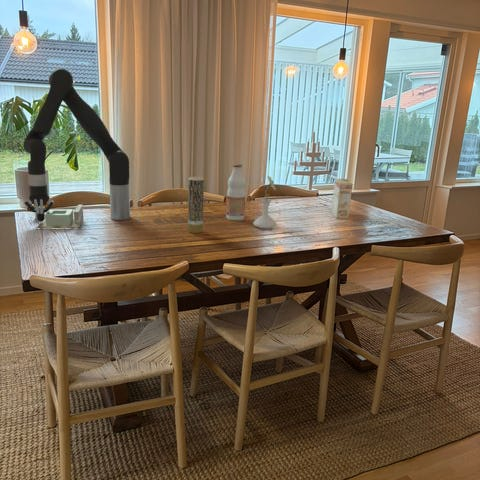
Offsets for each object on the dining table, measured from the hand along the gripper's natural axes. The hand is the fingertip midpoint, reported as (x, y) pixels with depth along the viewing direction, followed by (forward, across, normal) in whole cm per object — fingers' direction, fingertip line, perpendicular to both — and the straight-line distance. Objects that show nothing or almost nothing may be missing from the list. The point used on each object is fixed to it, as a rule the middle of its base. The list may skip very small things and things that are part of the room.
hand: (41, 221), depth 210 cm
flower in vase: (+2, -105, +6) cm, 105 cm away
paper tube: (+2, -70, +13) cm, 71 cm away
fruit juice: (+2, -92, -10) cm, 93 cm away
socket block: (+1, -8, 0) cm, 8 cm away
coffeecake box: (+2, -152, -15) cm, 153 cm away
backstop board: (+2, -9, 0) cm, 9 cm away
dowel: (+2, +4, -14) cm, 14 cm away
